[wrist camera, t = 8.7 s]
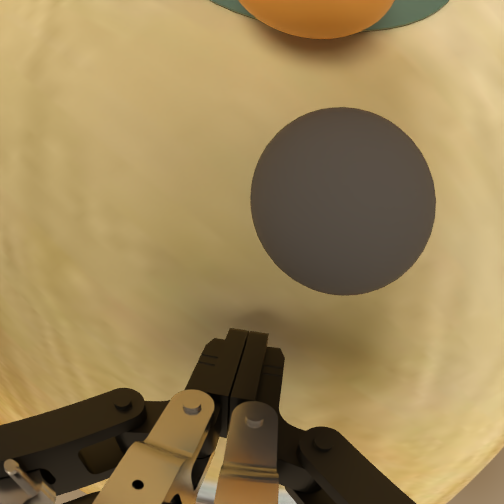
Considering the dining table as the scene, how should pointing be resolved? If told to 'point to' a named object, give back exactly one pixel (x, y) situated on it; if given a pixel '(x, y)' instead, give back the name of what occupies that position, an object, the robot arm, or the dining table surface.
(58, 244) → the dining table surface
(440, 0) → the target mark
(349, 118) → the dark grey ball
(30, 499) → the robot arm
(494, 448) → the dining table surface
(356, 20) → the orange ball
